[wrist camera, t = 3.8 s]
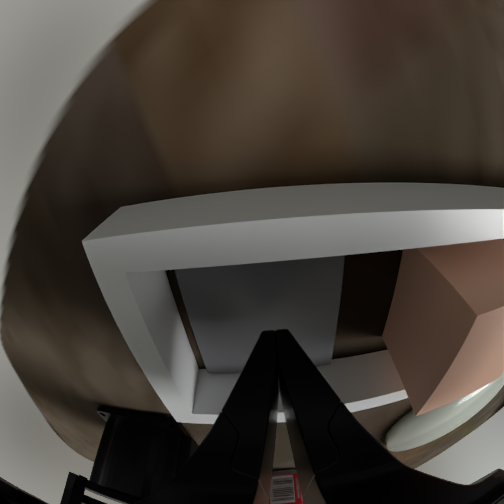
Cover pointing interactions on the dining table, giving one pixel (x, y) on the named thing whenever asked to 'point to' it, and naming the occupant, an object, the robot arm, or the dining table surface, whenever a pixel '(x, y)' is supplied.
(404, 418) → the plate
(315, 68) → the dining table surface
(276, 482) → the soda can
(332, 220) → the channel
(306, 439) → the robot arm
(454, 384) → the block
